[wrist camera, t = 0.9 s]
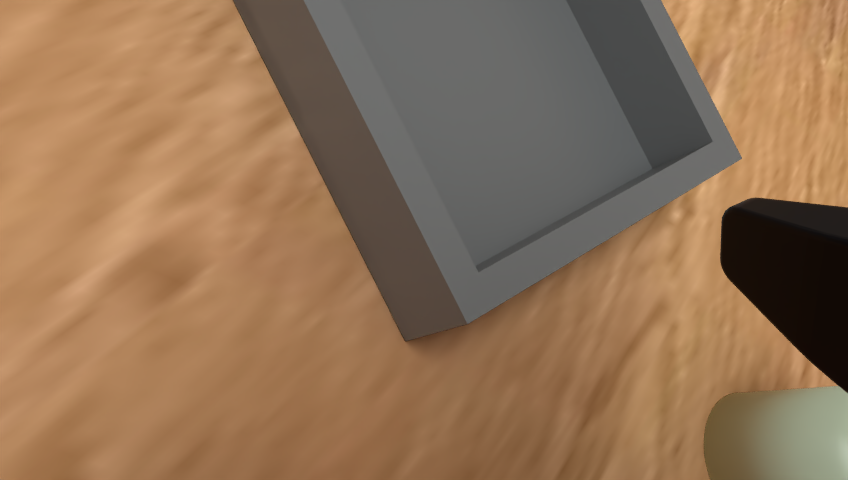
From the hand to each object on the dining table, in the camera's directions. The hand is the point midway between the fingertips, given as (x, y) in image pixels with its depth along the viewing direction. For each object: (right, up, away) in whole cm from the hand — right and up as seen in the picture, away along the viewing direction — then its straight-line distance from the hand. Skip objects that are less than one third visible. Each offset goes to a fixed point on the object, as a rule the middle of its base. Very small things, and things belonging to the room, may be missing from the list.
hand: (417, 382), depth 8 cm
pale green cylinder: (+12, -6, +18) cm, 23 cm away
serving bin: (+1, +7, +16) cm, 18 cm away
